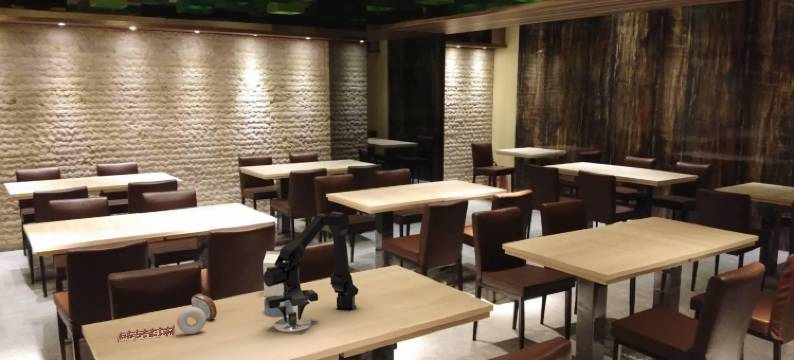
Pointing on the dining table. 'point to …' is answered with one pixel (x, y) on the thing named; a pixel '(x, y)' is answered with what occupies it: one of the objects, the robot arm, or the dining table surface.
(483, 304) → the dining table surface
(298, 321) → the lid
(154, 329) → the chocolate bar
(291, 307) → the blue bowl
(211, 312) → the tin
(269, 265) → the milk carton
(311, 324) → the mat
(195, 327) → the donut
